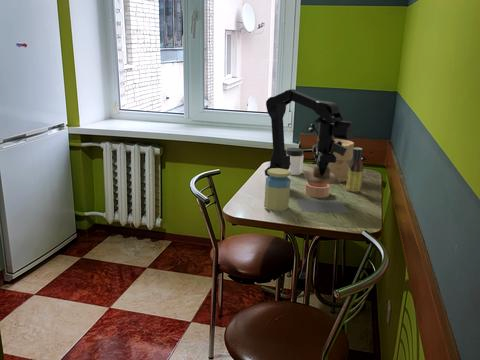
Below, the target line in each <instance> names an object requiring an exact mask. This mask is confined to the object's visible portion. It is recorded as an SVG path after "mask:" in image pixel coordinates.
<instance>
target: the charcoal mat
mask: <svg viewBox="0 0 480 360" xmlns="http://www.w3.org/2000/svg"><path fill="white" fill-rule="evenodd" d="M296 202H297V204H298V206H299V208H300V211H301V212H305V213H306V212H308V213H309V212H311V213H337V214H338V213H339V214H341V213H342V214H350V211H349V210H348V209H347V207H346V205H345V204H344V203H343V202H342V201H341V200H340V199H339V200H336V199H335V200H334V199H311V198H310V199H309V198H308V199H307V198H303V199H302V198H296Z"/></svg>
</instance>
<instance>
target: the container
mask: <svg viewBox="0 0 480 360" xmlns="http://www.w3.org/2000/svg"><path fill="white" fill-rule="evenodd" d="M333 139H334V140H335V142H337V141H340V142H342V146H344V147H346V148H347V150H346V152H345V154H344V156H341V155H340V154H338V153H336V152H334V153H333V154H334V155H335V157H336V163H329V164H328V166H327V167H329V168H330V173H333V174H334V175H335V176H336V178H337V179H338V180H339V183H345V182H347V175H348V166H349V164H350V162H351V159H352V157H353V148H355V147H354V146H355V142H353V141H352V140H345V139H340V138H333Z"/></svg>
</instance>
